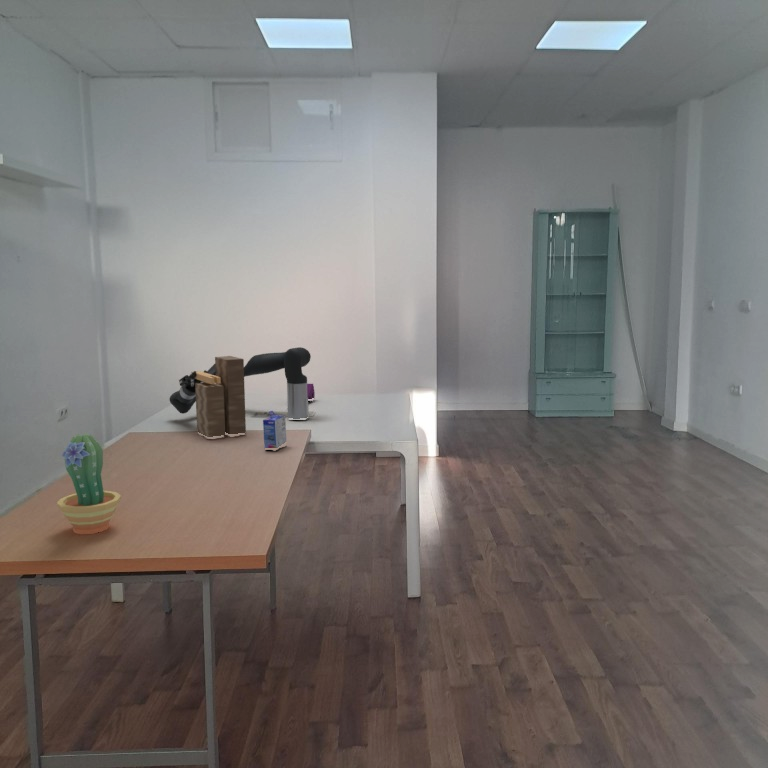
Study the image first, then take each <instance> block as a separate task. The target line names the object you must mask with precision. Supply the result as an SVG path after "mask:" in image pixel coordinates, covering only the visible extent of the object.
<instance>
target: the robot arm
mask: <svg viewBox="0 0 768 768" xmlns="http://www.w3.org/2000/svg"><path fill="white" fill-rule="evenodd" d="M311 358H312V357H311V353H310V351H309V350H307V348H304V347H293V348H292V347H291V348H289V349H287V350H286V351H282V352H269V353H262V354H256V355H253V356H252V357H250V358H249V360H248V361H247V363H246V364H244V378H245V377H249V376H255V375H264V374H269V373H272V372H276V371H279V370H283V369H284V375H285V378H286V392H287V393H286V394H287V399H286V400H287V419H288V418H293V419H300V418H307V417H308V415H309V402H308V398H307V384H308V377H307V375H304V374H303V370H302V368H303V367H305V366H307V365H308V364H309V363H310V361H311ZM192 372H193V373H192V374H191V373H190V374H189V375H188V374H187V375H184V376H182V377H181V378H180V379H178V383H179V386H180V389H179V390H177V391H174V393H172V394H171V395H170V397H169V402H170V404H171V405H172V406H173V407H174V408H175V409H176V410H177V411H178V412H179V414H187V413H188V412H190V410H191V408H192V407H193V406H194V404H196V391H195V383H206V382H203V381H200V380H197V379H195V377H196V376H197V374H196V370H194V371H192ZM203 372H205V373H208V374H211V375H215V376H216V370H215V363H213V365H212V366H211V367H209V369H208V370H207V369H205V370H203Z"/></svg>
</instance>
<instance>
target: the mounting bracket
mask: <svg viewBox="0 0 768 768" xmlns="http://www.w3.org/2000/svg"><path fill="white" fill-rule="evenodd" d="M307 398H308V399H312V398H314V399H315V387H314V383H307Z"/></svg>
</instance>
